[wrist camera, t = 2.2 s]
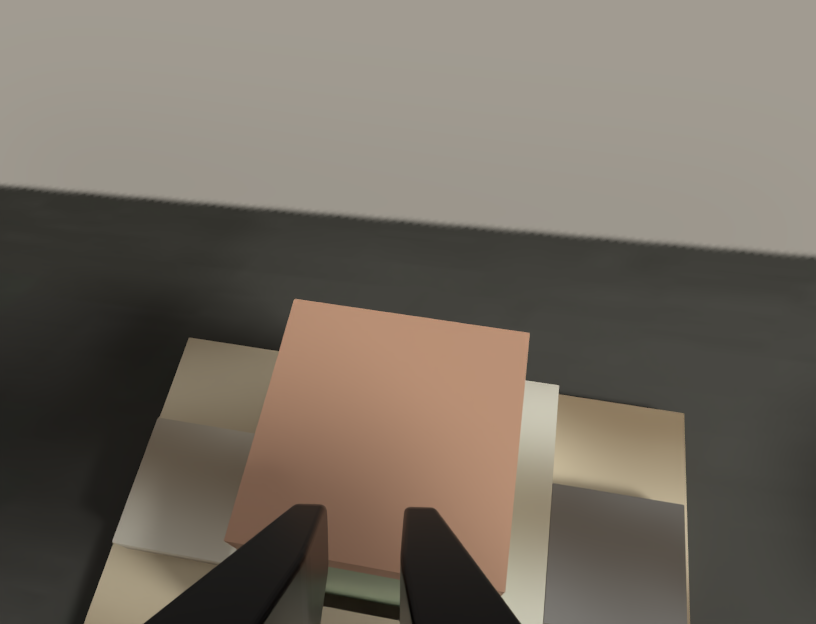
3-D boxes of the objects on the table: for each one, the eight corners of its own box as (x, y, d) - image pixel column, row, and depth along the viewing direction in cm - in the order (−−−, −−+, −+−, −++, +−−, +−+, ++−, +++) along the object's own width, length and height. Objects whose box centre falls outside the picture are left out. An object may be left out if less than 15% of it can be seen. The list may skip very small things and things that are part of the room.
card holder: (684, 793, 18) (768, 833, 14) (79, 668, 20) (-16, 668, 16) (676, 421, 23) (735, 364, 19) (195, 346, 25) (148, 278, 21)
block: (472, 620, 17) (505, 592, 11) (295, 587, 18) (223, 541, 11) (492, 445, 20) (529, 333, 13) (335, 420, 20) (294, 299, 13)
